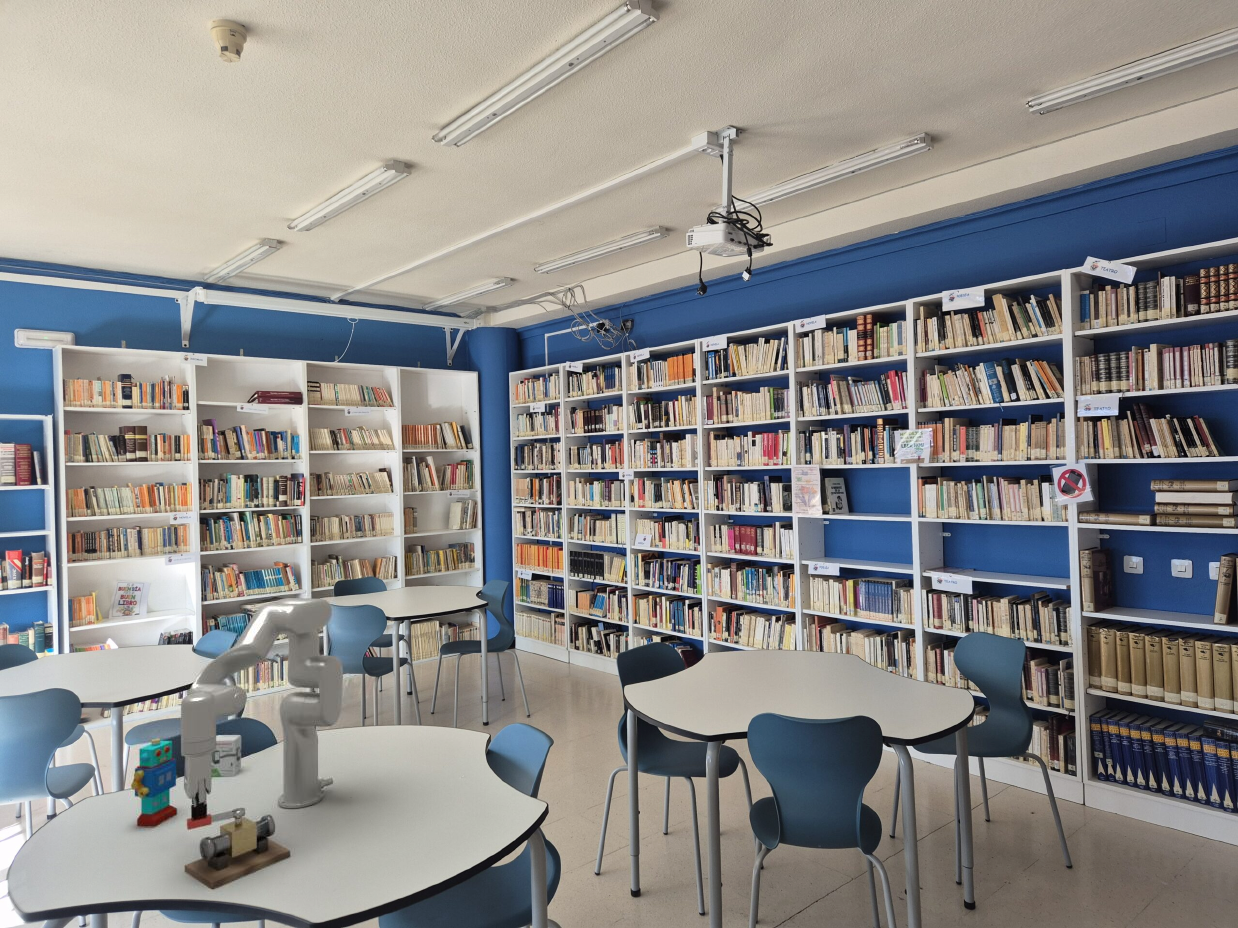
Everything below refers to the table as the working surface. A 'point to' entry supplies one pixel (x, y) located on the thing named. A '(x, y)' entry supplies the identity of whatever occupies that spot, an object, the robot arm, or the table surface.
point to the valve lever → (213, 818)
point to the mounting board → (236, 865)
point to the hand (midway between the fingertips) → (199, 820)
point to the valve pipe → (237, 840)
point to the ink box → (226, 756)
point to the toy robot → (155, 782)
